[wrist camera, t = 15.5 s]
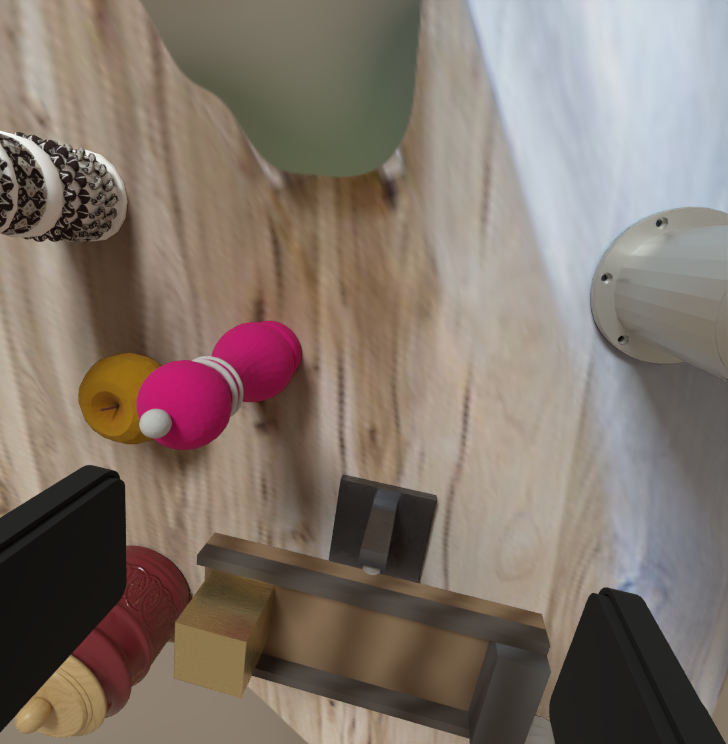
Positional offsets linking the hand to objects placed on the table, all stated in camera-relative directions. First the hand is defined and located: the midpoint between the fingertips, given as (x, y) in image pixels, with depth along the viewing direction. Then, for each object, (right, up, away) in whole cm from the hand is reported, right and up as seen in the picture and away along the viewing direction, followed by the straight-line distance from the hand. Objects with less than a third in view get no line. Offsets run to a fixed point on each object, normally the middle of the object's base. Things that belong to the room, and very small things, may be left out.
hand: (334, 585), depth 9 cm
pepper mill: (-9, +6, +36) cm, 38 cm away
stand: (+2, -17, +41) cm, 44 cm away
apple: (-21, +3, +39) cm, 45 cm away
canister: (-27, -23, +48) cm, 60 cm away
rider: (-11, -17, +33) cm, 39 cm away
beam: (0, -19, +33) cm, 38 cm away
